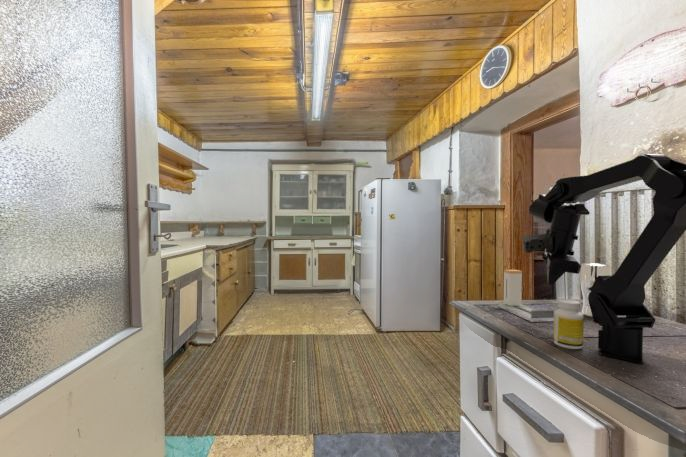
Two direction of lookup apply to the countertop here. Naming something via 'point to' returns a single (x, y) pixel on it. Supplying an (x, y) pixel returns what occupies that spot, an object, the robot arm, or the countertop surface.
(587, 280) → the beer glass
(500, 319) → the countertop surface
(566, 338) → the supplement bottle
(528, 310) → the fader rail
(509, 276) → the white rectangular canister
